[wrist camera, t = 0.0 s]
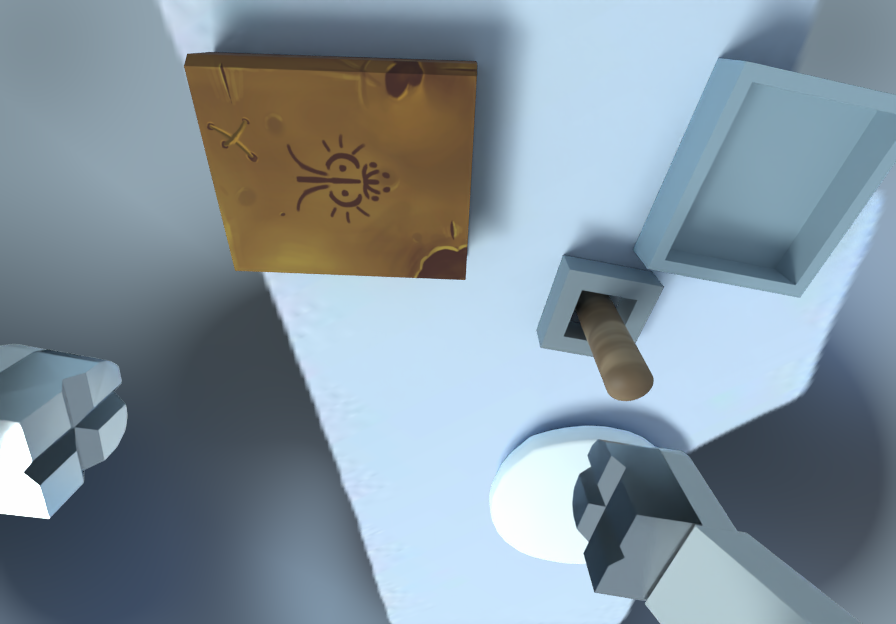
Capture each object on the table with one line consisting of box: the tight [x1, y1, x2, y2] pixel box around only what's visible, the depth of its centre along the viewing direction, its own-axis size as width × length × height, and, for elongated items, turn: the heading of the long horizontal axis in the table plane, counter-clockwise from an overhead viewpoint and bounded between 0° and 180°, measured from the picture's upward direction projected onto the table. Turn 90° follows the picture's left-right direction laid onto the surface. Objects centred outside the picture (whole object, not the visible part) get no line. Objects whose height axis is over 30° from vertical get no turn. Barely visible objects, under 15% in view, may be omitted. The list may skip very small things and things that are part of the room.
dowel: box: [575, 290, 654, 401], centre depth 45 cm, size 4×4×14 cm
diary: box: [184, 52, 477, 280], centre depth 42 cm, size 23×19×6 cm
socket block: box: [537, 255, 664, 357], centre depth 49 cm, size 10×10×4 cm
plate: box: [489, 426, 655, 564], centre depth 66 cm, size 28×6×27 cm
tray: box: [633, 58, 896, 298], centre depth 41 cm, size 18×16×4 cm
